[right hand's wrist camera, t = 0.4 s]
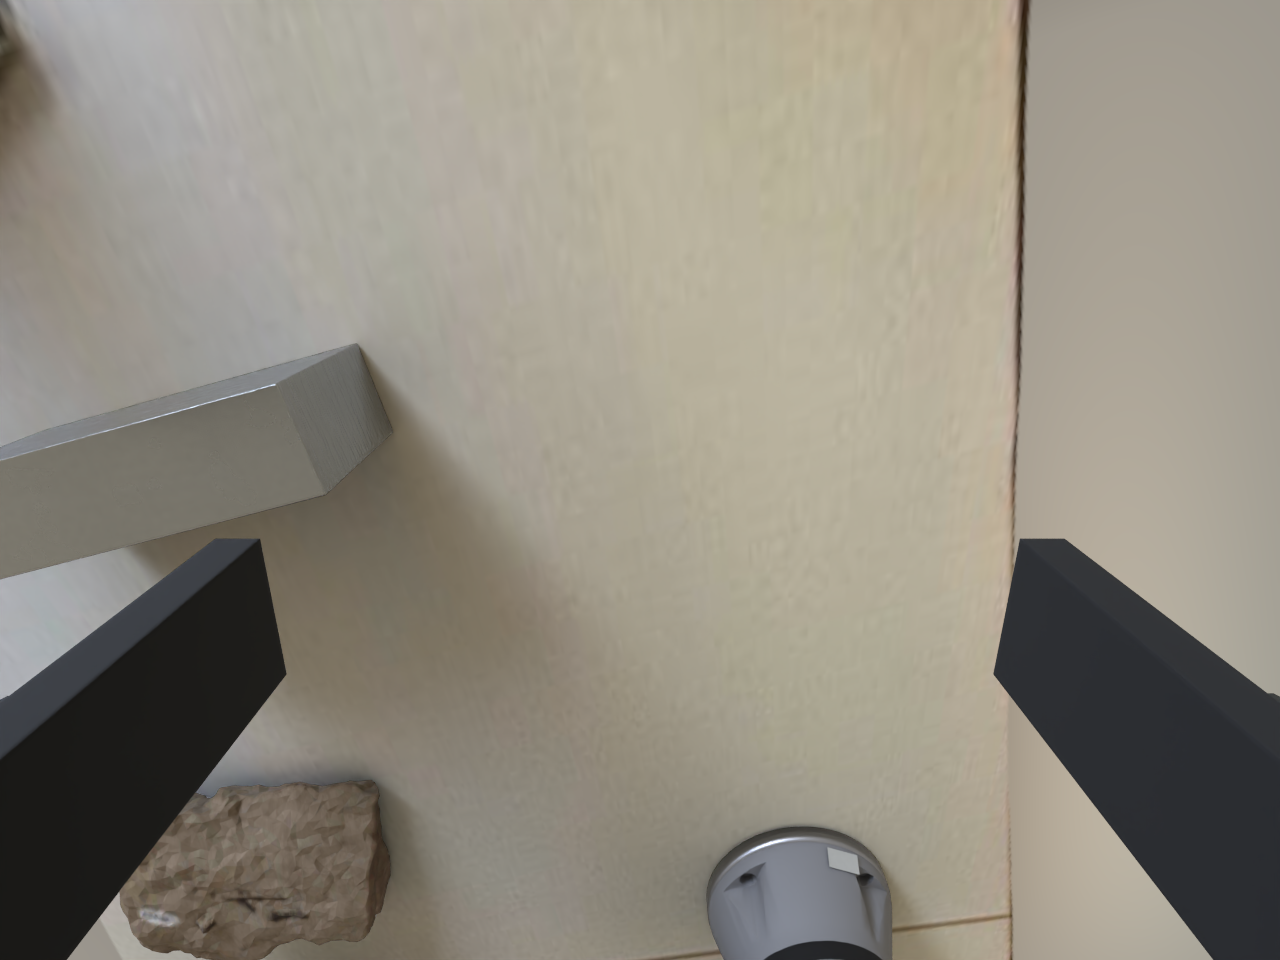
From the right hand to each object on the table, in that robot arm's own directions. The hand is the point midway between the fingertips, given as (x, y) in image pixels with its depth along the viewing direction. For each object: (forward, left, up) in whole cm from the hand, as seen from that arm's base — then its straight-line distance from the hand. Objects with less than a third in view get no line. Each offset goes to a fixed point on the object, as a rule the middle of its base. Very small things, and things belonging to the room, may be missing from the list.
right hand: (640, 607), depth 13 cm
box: (-7, +28, -34) cm, 45 cm away
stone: (-42, +31, -34) cm, 62 cm away
